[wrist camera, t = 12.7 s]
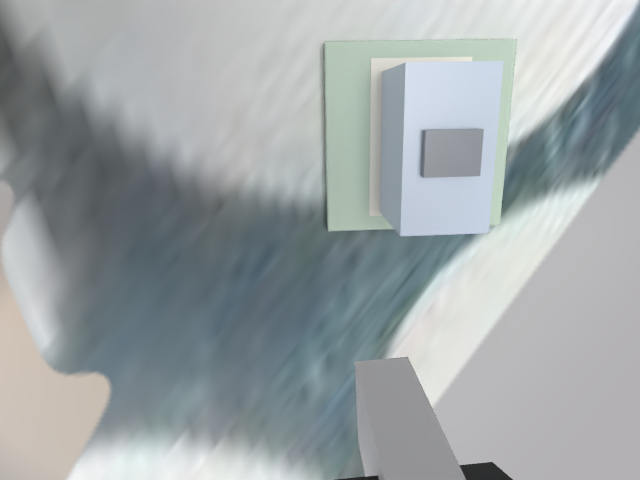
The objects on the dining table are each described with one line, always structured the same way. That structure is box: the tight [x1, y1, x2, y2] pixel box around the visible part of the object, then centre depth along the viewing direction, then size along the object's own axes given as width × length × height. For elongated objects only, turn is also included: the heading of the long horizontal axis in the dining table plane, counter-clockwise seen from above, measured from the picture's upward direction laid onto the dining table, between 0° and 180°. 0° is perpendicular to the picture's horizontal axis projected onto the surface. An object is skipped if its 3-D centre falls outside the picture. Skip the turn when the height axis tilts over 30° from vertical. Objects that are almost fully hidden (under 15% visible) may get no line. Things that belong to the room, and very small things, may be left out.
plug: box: [380, 61, 504, 236], centre depth 27 cm, size 9×5×7 cm, turn 1°
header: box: [324, 39, 517, 231], centre depth 29 cm, size 12×12×5 cm
